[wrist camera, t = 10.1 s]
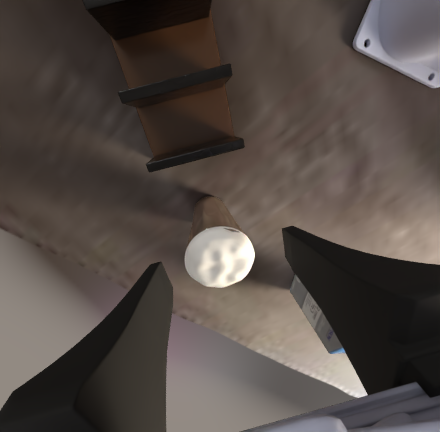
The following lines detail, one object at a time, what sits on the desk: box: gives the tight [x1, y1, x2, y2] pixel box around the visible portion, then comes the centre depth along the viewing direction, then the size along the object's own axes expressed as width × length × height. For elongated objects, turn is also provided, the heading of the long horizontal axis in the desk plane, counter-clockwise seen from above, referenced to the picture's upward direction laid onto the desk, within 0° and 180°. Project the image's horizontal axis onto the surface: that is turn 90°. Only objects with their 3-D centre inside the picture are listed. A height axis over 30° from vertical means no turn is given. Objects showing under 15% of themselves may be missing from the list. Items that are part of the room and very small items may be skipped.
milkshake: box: [185, 196, 255, 288], centre depth 16 cm, size 4×5×10 cm
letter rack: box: [82, 0, 245, 172], centre depth 13 cm, size 13×7×5 cm, turn 13°
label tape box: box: [290, 274, 346, 354], centre depth 21 cm, size 9×4×12 cm, turn 80°
